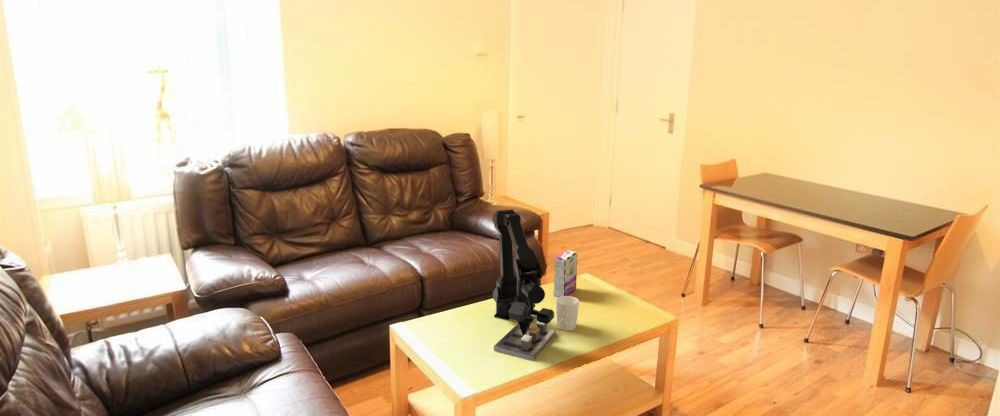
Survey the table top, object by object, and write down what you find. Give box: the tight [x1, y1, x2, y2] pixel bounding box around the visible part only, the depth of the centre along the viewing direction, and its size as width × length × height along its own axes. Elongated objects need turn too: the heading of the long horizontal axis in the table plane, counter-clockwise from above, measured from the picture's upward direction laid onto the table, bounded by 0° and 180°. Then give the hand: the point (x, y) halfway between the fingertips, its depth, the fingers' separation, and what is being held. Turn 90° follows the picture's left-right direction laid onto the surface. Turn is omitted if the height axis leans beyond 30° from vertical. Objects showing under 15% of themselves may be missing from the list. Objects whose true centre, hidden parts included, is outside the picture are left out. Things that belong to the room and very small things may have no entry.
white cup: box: [555, 295, 580, 331], centre depth 212 cm, size 8×8×10 cm
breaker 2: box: [529, 327, 540, 342], centre depth 199 cm, size 2×3×4 cm
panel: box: [493, 323, 557, 361], centre depth 201 cm, size 14×20×2 cm
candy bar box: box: [553, 249, 578, 298], centre depth 240 cm, size 11×5×16 cm, turn 148°
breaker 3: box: [536, 321, 548, 334], centre depth 205 cm, size 2×3×4 cm
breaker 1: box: [521, 335, 532, 350], centre depth 194 cm, size 2×3×4 cm
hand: (524, 334), depth 201 cm, fingers closed
